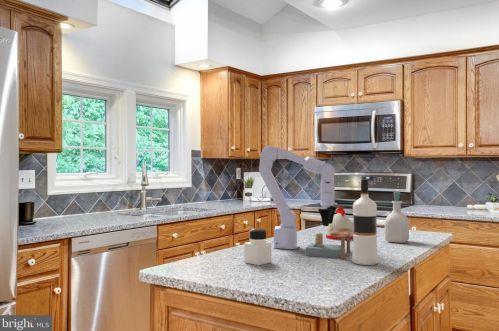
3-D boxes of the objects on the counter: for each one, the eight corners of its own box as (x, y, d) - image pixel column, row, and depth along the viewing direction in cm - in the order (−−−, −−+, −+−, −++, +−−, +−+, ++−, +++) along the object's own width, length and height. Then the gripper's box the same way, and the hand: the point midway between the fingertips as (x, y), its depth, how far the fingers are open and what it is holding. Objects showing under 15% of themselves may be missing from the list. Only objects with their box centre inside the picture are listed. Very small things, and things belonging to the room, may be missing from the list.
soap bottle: (406, 244, 190) (405, 192, 190) (383, 242, 195) (383, 191, 195) (409, 240, 198) (409, 191, 198) (388, 239, 203) (388, 190, 203)
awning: (330, 258, 162) (330, 233, 162) (337, 251, 175) (337, 227, 175) (346, 259, 159) (346, 233, 159) (352, 252, 172) (352, 228, 172)
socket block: (305, 255, 167) (305, 247, 167) (312, 250, 177) (312, 243, 177) (339, 257, 162) (339, 250, 162) (344, 252, 172) (344, 245, 172)
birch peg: (314, 254, 169) (314, 233, 169) (315, 252, 172) (315, 232, 172) (322, 254, 168) (322, 234, 168) (323, 253, 171) (323, 233, 171)
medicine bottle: (271, 262, 156) (271, 229, 156) (258, 265, 150) (258, 231, 150) (257, 259, 161) (257, 227, 161) (243, 262, 155) (243, 229, 155)
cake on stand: (333, 240, 200) (332, 208, 200) (321, 236, 213) (321, 205, 213) (360, 239, 203) (360, 207, 203) (347, 234, 216) (347, 205, 216)
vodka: (349, 260, 159) (348, 178, 159) (374, 260, 159) (374, 178, 159) (355, 266, 149) (354, 179, 149) (381, 265, 149) (381, 179, 149)
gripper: (333, 193, 173) (333, 227, 173) (340, 191, 186) (340, 223, 186) (316, 193, 176) (316, 226, 176) (324, 191, 189) (324, 222, 189)
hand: (327, 224), depth 181 cm, fingers open, 7 cm apart
